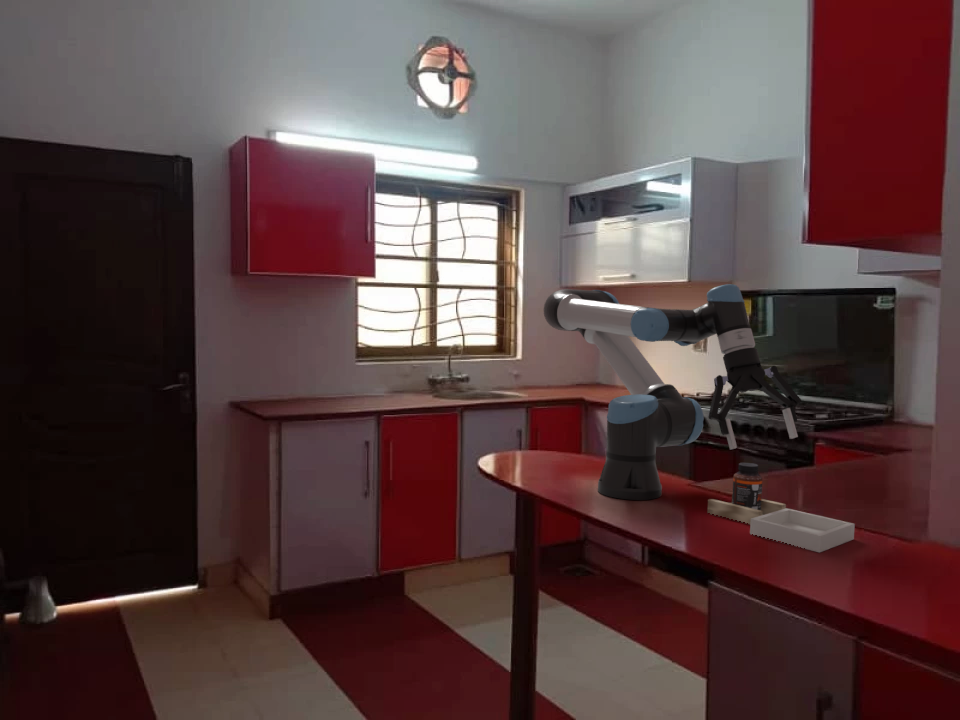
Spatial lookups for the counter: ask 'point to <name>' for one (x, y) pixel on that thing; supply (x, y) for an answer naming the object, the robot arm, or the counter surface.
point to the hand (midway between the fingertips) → (763, 443)
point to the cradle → (742, 509)
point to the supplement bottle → (747, 486)
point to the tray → (802, 529)
